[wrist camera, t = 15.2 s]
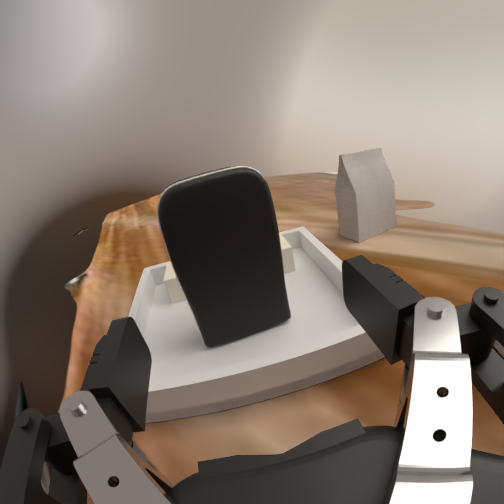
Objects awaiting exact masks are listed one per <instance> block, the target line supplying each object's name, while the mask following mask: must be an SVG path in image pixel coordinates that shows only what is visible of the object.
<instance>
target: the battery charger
mask: <svg viewBox="0 0 504 504" xmlns="http://www.w3.org/2000/svg"><path fill="white" fill-rule="evenodd" d="M248 168H249V169H248ZM157 216H158V222H159V226H160V230H161V233H162V237H163V240H164V244H165V247H166V250H167V253H168V256H169V259H170V262H171V264H172V267H173V270H174V272H175V275H176V277H177V280H178V282H179V284H180V287H181V289H182V291H183V294H184V296H185V298H186V300H187V302H188V305H189V307H190V309H191V312H192V314H193V316H194V319H195V322H196V324H197V327H198V330H199V332H200V335H201V338H202V341H203V343H205V345H206V346H207V347H213V346H216V345H220V344H224V343H227V342H230V341H233V340H237V339H240V338H243V337H246V336H249V335H251V334H254V333H257V332H260V331H262V330H265V329H267V328H270V327H272V326H275V325H277V324H280V323H282V322H284V321H286V320H289V319H290V318H291V312H290V307H289V302H288V296H287V291H286V285H285V277H284V267H283V259H282V251H281V243H280V237H279V231H278V225H277V220H276V215H275V210H274V205H273V201H272V196H271V192H270V189H269V187H268V184H267V182H266V180H265V178H264V177H263V175H262V174H261V173H260V172H259V171H258V170H256V169H253V168H251V167H247V166H233V167H226V168H222V169H217V170H213V171H209V172H205V173H201V174H198V175H195V176H192V177H188V178H185V179H182V180H179V181H177V182H174V183H172V184H170V185H169V186H168V187H167V188H166V189H165V190H164V191H163V193H162V194H161V196H160V198H159V201H158V205H157Z"/></svg>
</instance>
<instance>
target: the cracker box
mask: <svg viewBox="0 0 504 504" xmlns="http://www.w3.org/2000/svg"><path fill="white" fill-rule="evenodd" d="M279 237H280V243H281V251H282V259H283V267H284V274H286V273H290V272H293V271H296V270H295V264H294V257H293V251H292V247H291V245H290V244H289V243H288V242H287V241H286V239H285V238H284V237H283V236H282V235H281V234H280V232H279ZM163 281H164V284H165V287H166V289H167V292H168V294H169V297H170V299H171V302H172V304H173V303H177V302H181V301H185V300H186V298H185V296H184V294H183V291H182V289H181V287H180V284H179V282H178V280H177V277H176V275H175V272H174V270H173V267H172V264H171V262H170V261H169V262H167V265H166V270H165V275H164V280H163Z"/></svg>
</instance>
